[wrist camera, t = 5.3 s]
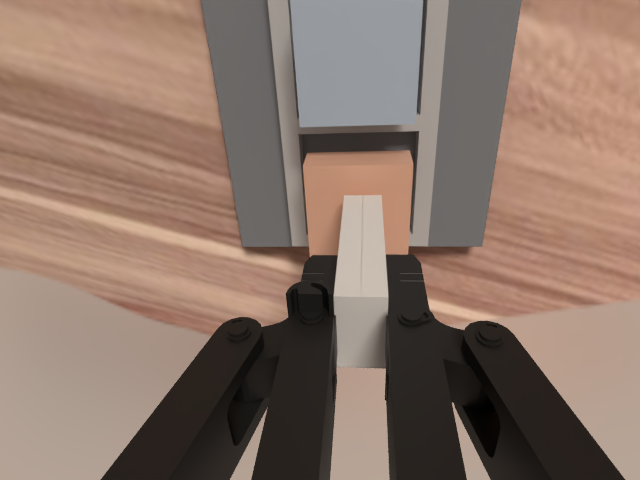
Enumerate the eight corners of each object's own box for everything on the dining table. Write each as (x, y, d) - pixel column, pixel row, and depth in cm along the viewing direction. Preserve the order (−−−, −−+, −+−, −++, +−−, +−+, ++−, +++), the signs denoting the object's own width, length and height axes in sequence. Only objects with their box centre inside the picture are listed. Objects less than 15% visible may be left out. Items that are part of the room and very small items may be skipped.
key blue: (304, 115, 18) (299, 127, 17) (296, -5, 16) (289, -3, 15) (411, 112, 18) (416, 123, 17) (418, -12, 16) (423, -11, 14)
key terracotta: (313, 239, 21) (310, 257, 20) (307, 152, 19) (302, 166, 18) (404, 239, 21) (407, 257, 20) (409, 150, 19) (413, 164, 17)
